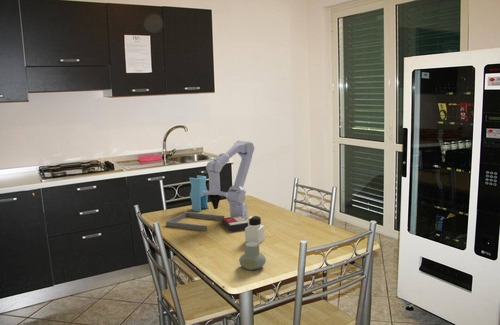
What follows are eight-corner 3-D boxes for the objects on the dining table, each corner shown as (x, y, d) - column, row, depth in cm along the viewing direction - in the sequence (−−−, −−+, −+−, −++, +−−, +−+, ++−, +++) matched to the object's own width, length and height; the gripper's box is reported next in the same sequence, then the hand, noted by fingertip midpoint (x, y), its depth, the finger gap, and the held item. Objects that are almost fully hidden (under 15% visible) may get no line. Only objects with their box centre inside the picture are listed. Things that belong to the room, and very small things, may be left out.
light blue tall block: (199, 206, 285) (197, 175, 281) (208, 208, 280) (207, 176, 277) (190, 209, 278) (188, 177, 275) (200, 211, 274) (198, 178, 270)
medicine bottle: (264, 239, 222) (264, 215, 220) (258, 244, 216) (258, 219, 214) (251, 237, 225) (250, 214, 223) (245, 242, 219) (244, 218, 217)
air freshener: (236, 269, 188) (235, 246, 186) (244, 261, 195) (243, 239, 194) (261, 272, 184) (261, 248, 182) (268, 264, 192) (267, 242, 190)
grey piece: (224, 220, 255) (224, 215, 255) (206, 231, 238) (206, 226, 237) (186, 215, 266) (186, 211, 265) (166, 226, 248) (166, 221, 248)
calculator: (240, 215, 252) (250, 221, 238) (240, 222, 253) (250, 229, 239) (221, 218, 248) (229, 224, 234) (221, 225, 249) (230, 232, 235)
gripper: (198, 184, 242) (200, 209, 244) (223, 186, 236) (224, 211, 238) (205, 181, 248) (206, 205, 250) (229, 183, 242) (230, 208, 244)
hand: (215, 208), depth 245 cm, fingers closed
